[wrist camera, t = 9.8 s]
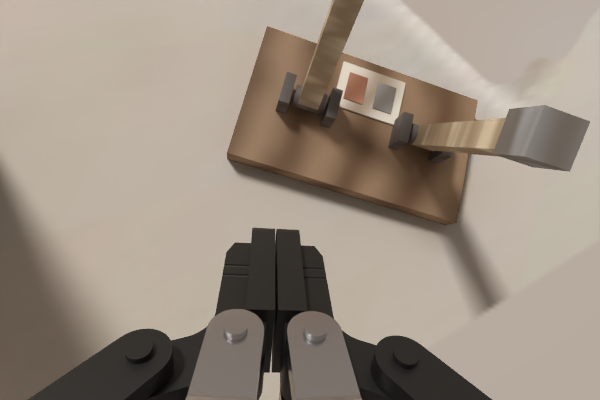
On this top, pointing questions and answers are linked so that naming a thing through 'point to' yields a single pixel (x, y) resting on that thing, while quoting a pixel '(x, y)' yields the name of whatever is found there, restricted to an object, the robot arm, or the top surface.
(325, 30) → the terracotta lever
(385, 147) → the switch board
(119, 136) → the top surface
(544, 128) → the slate lever
